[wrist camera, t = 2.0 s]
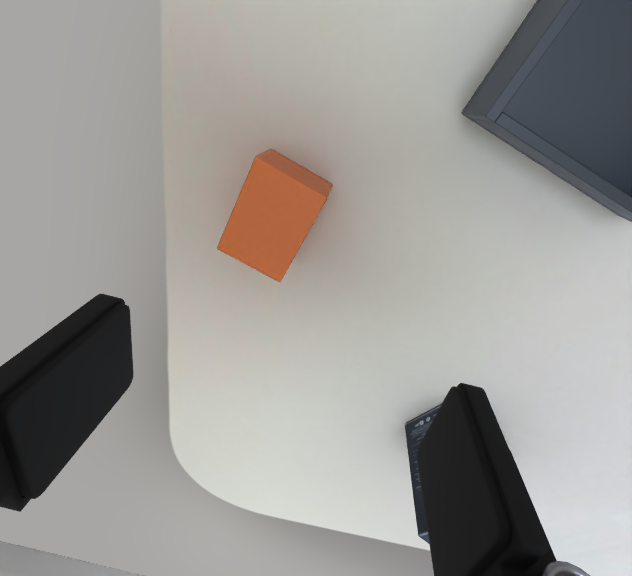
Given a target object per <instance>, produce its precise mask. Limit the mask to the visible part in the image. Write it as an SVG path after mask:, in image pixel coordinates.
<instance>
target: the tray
mask: <svg viewBox="0 0 632 576" xmlns="http://www.w3.org/2000/svg"><path fill="white" fill-rule="evenodd" d="M462 114H463V115H465V116H466V117H468V118H469V119H471V120H472V121H474V122H475V123H477V124H479V125H480V126H482V127H483V128H485V129H486V130H488V131H489V132H491V133H492V134H494V135H495V136H497V137H499V138H500V139H502V140H503V141H505V142H506V143H508V144H509V145H511V146H512V147H514V148H515V149H517V150H519V151H520V152H522V153H523V154H525V155H526V156H528V157H529V158H531V159H532V160H534V161H535V162H537V163H539V164H540V165H542V166H543V167H545V168H546V169H548V170H549V171H551V172H552V173H554V174H555V175H557V176H559V177H560V178H562V179H563V180H565V181H566V182H568V183H569V184H571V185H572V186H574V187H575V188H577V189H578V190H580V191H582V192H583V193H585V194H586V195H588V196H589V197H591V198H592V199H594V200H595V201H597V202H598V203H600V204H602V205H603V206H605V207H606V208H608V209H609V210H611V211H612V212H614V213H615V214H617V215H618V216H620V217H623V218H625V219H627V220H629V221H631V222H632V0H538V1H537V2H536V4H535V5H534V7H533V8H532V9H531V11H530V12H529V14H528V15H527V17H526V18H525V20H524V21H523V23H522V24H521V26H520V27H519V29H518V30H517V32H516V33H515V35H514V36H513V38H512V39H511V41H510V42H509V43H508V45H507V46H506V48H505V49H504V51H503V52H502V54H501V55H500V57H499V58H498V60H497V61H496V63H495V64H494V66H493V67H492V69H491V70H490V72H489V73H488V75H487V76H486V77H485V79H484V80H483V82H482V83H481V85H480V86H479V88H478V89H477V91H476V92H475V94H474V95H473V97H472V98H471V100H470V101H469V103H468V104H467V106H466V107H465V108H464V110H463V111H462Z"/></svg>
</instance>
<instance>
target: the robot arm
mask: <svg viewBox="0 0 632 576" xmlns="http://www.w3.org/2000/svg"><path fill="white" fill-rule="evenodd" d="M132 379H133V360H132V342H131V325H130V309H129V307H128V306H127V305H125V302H124V300H123V299H121V298H117V297H113V296H109V295H105V294H99V295H97V296H95V297H94V298H93V299H91V300H90V301H89V302H87V303H86V304H85V305H84V306H82V307H81V308H80V309H78V310H77V311H75V312H74V313H72V314H71V315H70V316H68V317H67V318H66V319H64V320H63V321H62V322H60V323H59V324H58V325H56V326H55V327H53V328H52V329H51V330H49V331H48V332H47V333H46V334H44V335H43V336H41V337H40V338H39V339H37V340H36V341H35V342H33V343H32V344H31V345H29V346H28V347H26V348H25V349H24V350H23V351H21V352H20V353H18V354H17V355H16V356H15V357H13V358H11V359H10V360H9V361H7V362H6V363H5V364H3V365H2V366H1V367H0V507H4V508H8V509H12V510H16V511H21V510H22V509H23V508H24V507H25V505H26V504H27V503H28V502H29V501H30V499H31V498H32V499H35V498H37V497H39V496H40V495H41V494H42V493H43V492H44V491H45V490H46V488H47V487H48V486H49V485H50V483H51V482H52V481H53V480H54V479H55V477H56V476H57V475H58V474H59V473H60V471H61V470H62V469H63V468H64V466H65V465H66V464H67V463H68V461H69V460H70V459H71V458H72V456H73V455H74V454H75V453H76V452H77V450H78V449H79V448H80V447H81V445H82V444H83V443H84V442H85V440H86V439H87V438H88V437H89V436H90V434H91V433H92V432H93V431H94V429H95V428H96V427H97V425H99V423H100V422H101V421H102V420H103V418H104V417H105V416H106V415H107V413H108V412H109V411H110V410H111V408H112V407H113V406H114V405H115V403H116V402H117V401H118V400H119V399H120V397H121V396H122V395H123V394H124V393H125V391H126V390H127V389H128V387H129V386H130V384H131V382H132ZM417 463H418V469H419V476H420V483H421V489H422V496H423V503H424V510H425V516H426V523H427V530H428V536H429V543H430V550H431V556H432V563H433V570H434V576H590V575H589V574H587V573H586V572H585V571H583V570H582V569H580V568H579V567H577V566H574V565H572V564H570V563H568V562H562V561H556V558H555V556H554V554H553V551H552V549H551V547H550V544H549V542H548V539H547V537H546V535H545V532H544V530H543V527H542V525H541V523H540V520H539V518H538V515H537V513H536V511H535V508H534V506H533V504H532V501H531V499H530V496H529V494H528V492H527V489H526V487H525V484H524V482H523V480H522V477H521V475H520V472H519V470H518V468H517V465H516V463H515V461H514V458H513V456H512V453H511V451H510V450H509V448H508V446H507V443H506V441H505V439H504V436H503V434H502V431H501V429H500V427H499V424H498V422H497V419H496V417H495V415H494V412H493V410H492V407H491V405H490V403H489V400H488V398H487V395H486V393H485V391H484V389H482V388H480V387H476V386H472V385H468V384H464V383H460V384H459V385H458V386H457V387H452V388H451V389H450V390H449V392H448V394H447V396H446V398H445V399H444V401H443V403H442V405H441V407H440V409H439V410H438V412H437V414H436V416H435V418H434V419H433V421H432V423H431V425H430V427H429V428H428V430H427V432H426V434H425V436H424V437H423V439H422V441H421V443H420V445H419V447H418V450H417ZM0 576H143V575H139V574H135V573H131V572H127V571H123V570H119V569H114V568H110V567H106V566H102V565H98V564H94V563H90V562H86V561H81V560H77V559H73V558H69V557H65V556H61V555H57V554H52V553H49V552H44V551H40V550H36V549H32V548H27V547H24V546H19V545H14V544H10V543H5V542H1V541H0Z"/></svg>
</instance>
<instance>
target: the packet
mask: <svg viewBox="0 0 632 576" xmlns="http://www.w3.org/2000/svg"><path fill="white" fill-rule="evenodd" d="M331 187H332V184H331V183H329V182H328V181H326V180H324V179H322V178H321V177H319V176H317V175H316V174H314V173H312V172H310V171H309V170H307V169H305V168H304V167H302V166H300V165H298V164H297V163H295V162H293V161H292V160H290V159H288V158H286V157H285V156H283V155H281V154H280V153H278V152H276V151H275V150H273V149H270V150H268V151H266V152H264V153H262V154H260V155H258V156H256V157H255V159H254V162H253V164H252V167H251V169H250V171H249V174H248V176H247V178H246V181H245V183H244V185H243V188H242V190H241V192H240V195H239V197H238V200H237V202H236V204H235V207H234V209H233V211H232V214H231V216H230V218H229V221H228V223H227V225H226V228H225V230H224V232H223V235H222V237H221V240H220V242H219V244H218V247H217V249H218V250H220V251H222V252H224V253H226V254H228V255H230V256H231V257H233V258H235V259H237V260H239V261H241V262H243V263H245V264H246V265H248V266H250V267H252V268H254V269H256V270H258V271H260V272H261V273H263V274H265V275H267V276H269V277H271V278H273V279H275V280H277V281H278V282H281V280H282V278H283V276H284V275H285V273H286V271H287V269H288V267H289V266H290V264H291V262H292V260H293V258H294V257H295V255H296V253H297V251H298V250H299V248H300V246H301V244H302V242H303V241H304V239H305V237H306V235H307V234H308V232H309V230H310V228H311V226H312V225H313V223H314V221H315V219H316V217H317V216H318V214H319V212H320V210H321V209H322V207H323V205H324V203H325V201H326V200H327V197H328V195H329V192H330V190H331Z"/></svg>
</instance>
